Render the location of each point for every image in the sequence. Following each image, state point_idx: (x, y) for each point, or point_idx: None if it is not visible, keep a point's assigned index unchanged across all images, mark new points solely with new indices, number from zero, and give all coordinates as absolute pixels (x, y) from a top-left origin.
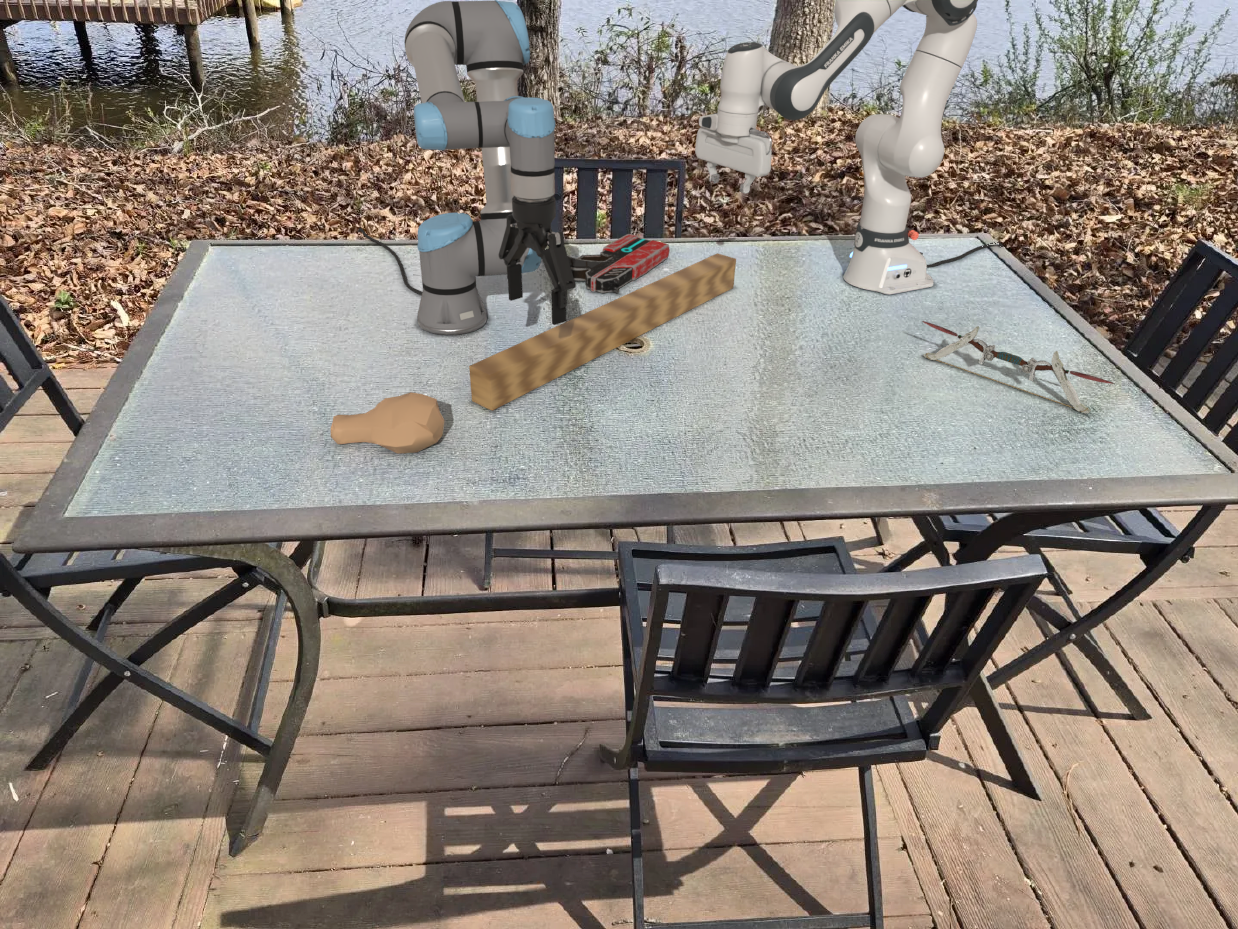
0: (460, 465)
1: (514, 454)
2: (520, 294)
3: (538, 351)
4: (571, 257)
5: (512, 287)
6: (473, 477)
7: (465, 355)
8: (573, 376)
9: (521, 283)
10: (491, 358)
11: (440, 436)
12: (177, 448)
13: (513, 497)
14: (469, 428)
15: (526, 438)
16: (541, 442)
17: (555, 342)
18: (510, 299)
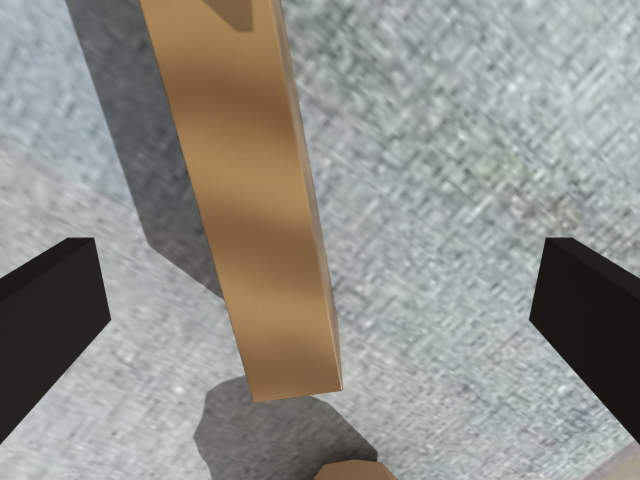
0: (467, 460)
1: (516, 377)
2: (83, 262)
3: (299, 183)
4: None
5: (57, 358)
6: (516, 462)
7: (19, 218)
8: (318, 28)
9: (31, 290)
10: (249, 334)
11: (389, 472)
12: None
13: (619, 446)
14: (368, 391)
15: (488, 329)
16: (526, 314)
17: (273, 76)
18: (103, 324)
